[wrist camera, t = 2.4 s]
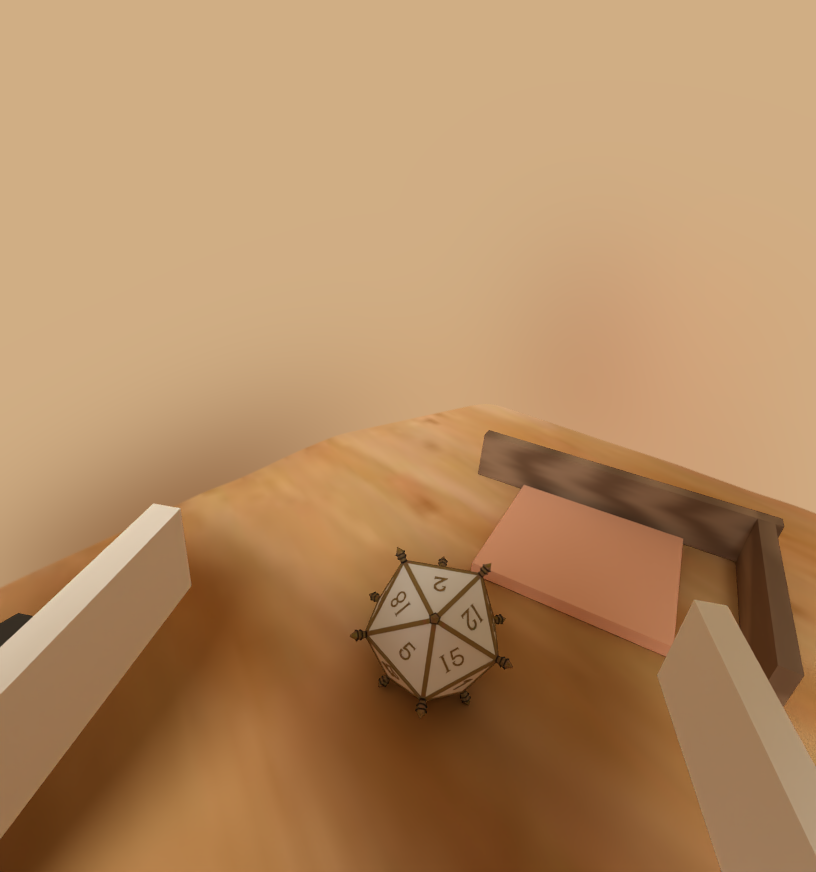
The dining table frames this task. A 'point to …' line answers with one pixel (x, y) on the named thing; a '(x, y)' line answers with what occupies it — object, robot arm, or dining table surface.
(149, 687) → the dining table surface
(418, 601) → the game die
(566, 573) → the mat
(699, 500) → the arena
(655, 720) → the dining table surface
